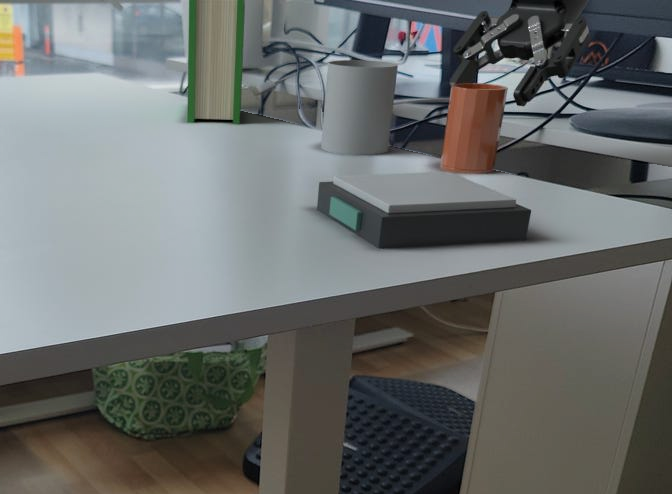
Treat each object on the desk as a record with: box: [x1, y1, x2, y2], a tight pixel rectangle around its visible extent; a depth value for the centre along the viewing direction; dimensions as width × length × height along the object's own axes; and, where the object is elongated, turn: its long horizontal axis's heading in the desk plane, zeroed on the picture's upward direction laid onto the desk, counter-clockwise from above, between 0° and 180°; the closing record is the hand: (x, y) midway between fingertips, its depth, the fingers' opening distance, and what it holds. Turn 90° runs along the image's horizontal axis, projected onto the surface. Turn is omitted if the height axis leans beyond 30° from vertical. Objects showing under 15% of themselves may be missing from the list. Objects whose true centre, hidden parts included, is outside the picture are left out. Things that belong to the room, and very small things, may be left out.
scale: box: [316, 171, 532, 249], centre depth 86 cm, size 14×14×4 cm
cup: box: [320, 59, 399, 156], centre depth 118 cm, size 8×8×10 cm
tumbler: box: [439, 82, 509, 175], centre depth 108 cm, size 6×6×9 cm
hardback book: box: [186, 0, 246, 125], centre depth 138 cm, size 18×7×24 cm, turn 177°
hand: (484, 96), depth 108 cm, fingers open, 8 cm apart
